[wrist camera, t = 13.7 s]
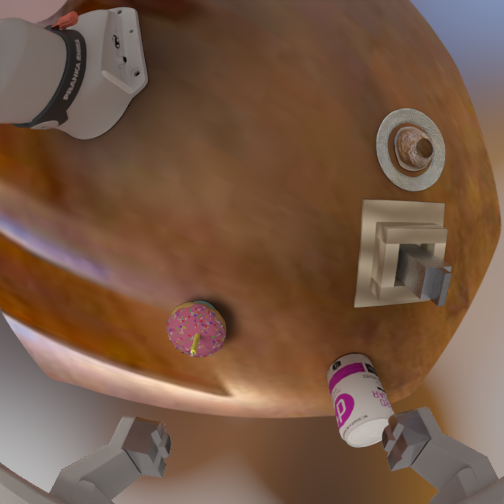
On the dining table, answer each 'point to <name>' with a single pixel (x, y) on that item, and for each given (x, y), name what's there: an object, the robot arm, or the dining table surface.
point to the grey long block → (423, 273)
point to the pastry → (411, 149)
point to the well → (394, 247)
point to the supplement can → (358, 400)
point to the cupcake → (196, 329)
